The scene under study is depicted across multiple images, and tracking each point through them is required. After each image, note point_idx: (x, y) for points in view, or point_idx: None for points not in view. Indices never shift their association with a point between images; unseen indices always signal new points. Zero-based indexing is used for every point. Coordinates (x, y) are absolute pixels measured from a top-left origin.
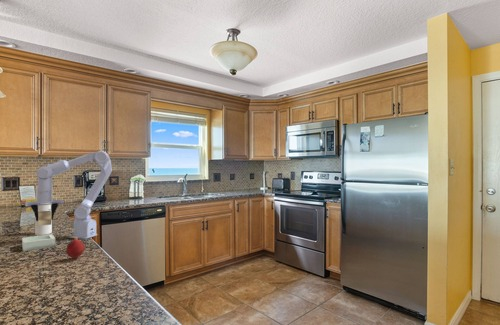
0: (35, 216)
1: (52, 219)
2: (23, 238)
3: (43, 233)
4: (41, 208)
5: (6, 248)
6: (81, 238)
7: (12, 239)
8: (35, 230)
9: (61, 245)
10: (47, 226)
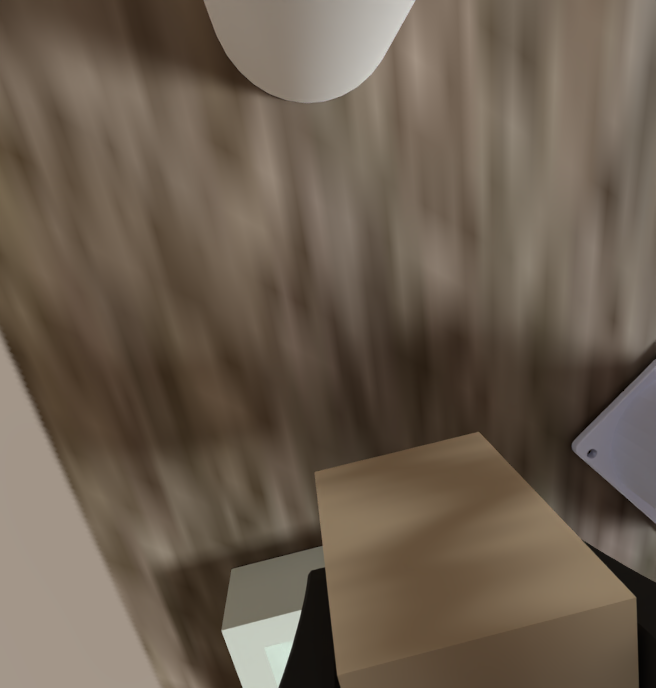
0: (299, 641)
1: None
2: (242, 659)
3: (319, 98)
4: None
5: (136, 604)
6: (651, 519)
7: (33, 231)
8: (210, 15)
9: None
10: (378, 43)
